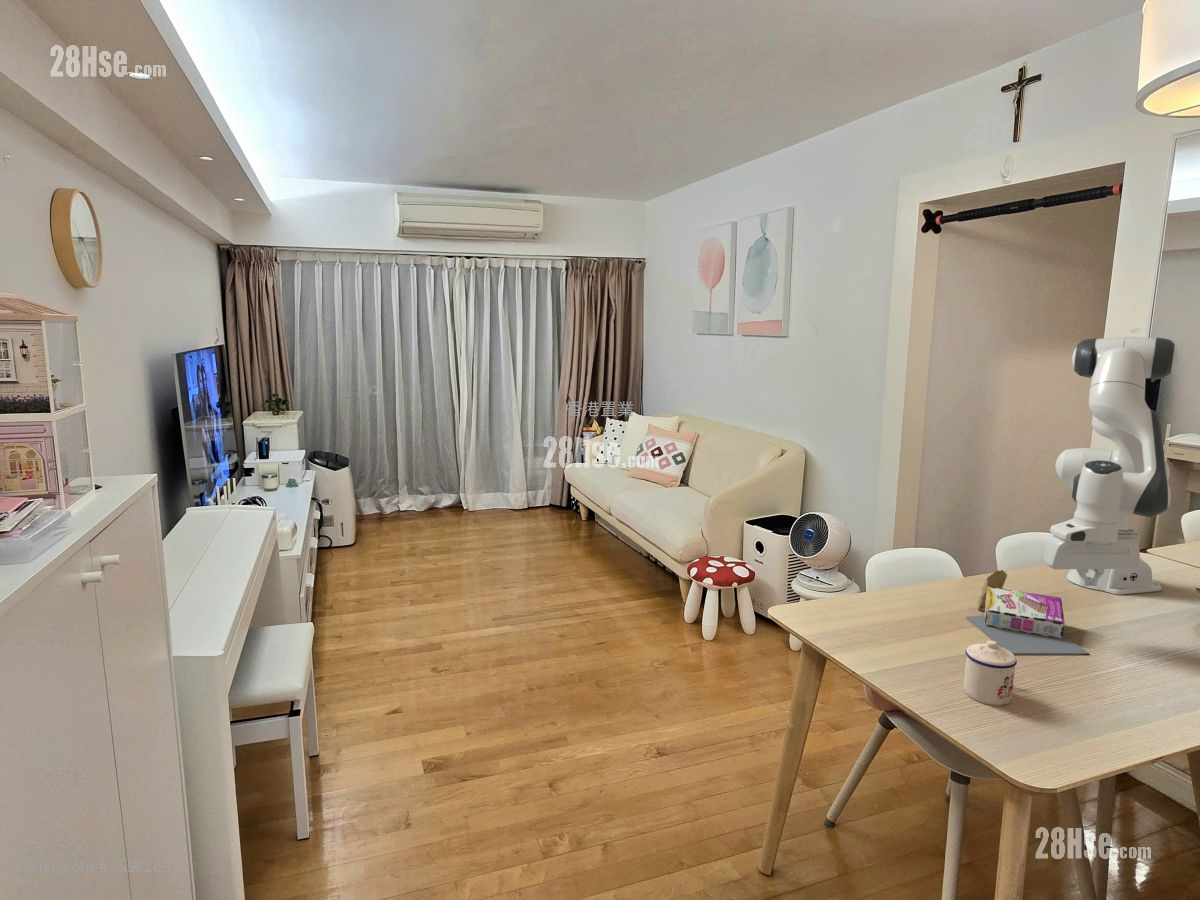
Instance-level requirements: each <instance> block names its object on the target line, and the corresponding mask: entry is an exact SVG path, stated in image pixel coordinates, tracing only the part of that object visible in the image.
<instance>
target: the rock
mask: <svg viewBox="0 0 1200 900" xmlns="http://www.w3.org/2000/svg"><path fill="white" fill-rule="evenodd" d="M1007 578H1008V574H1007V573H1006V571H1004V570H1002V569H1001V570H996V571H994V572H993V573H992V574H990V575H989V576H988V577H987V578H986V580H985V582H984V585H983V587H982V588H981V594H980V596H979V598H978V601H977V603H978V607H977V610H979V611H981V612H984V613H985V604H986V592H987V587H993V588H999V589H1003V587H1004V585H1005V582H1006V580H1007Z"/></svg>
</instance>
